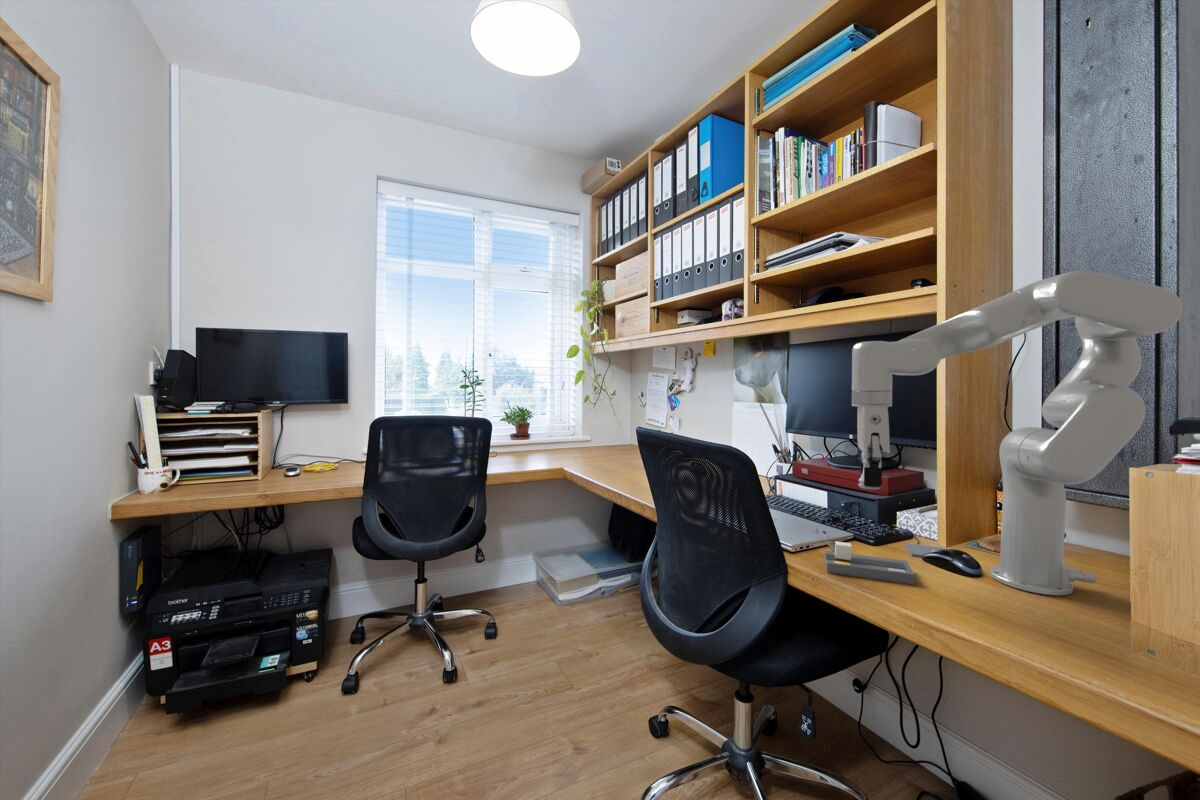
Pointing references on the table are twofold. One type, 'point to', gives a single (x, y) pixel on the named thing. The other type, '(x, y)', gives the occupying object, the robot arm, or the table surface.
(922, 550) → the rest mat
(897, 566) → the grey rectangular tray
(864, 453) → the rook chess piece
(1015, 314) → the robot arm
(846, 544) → the switch tab
